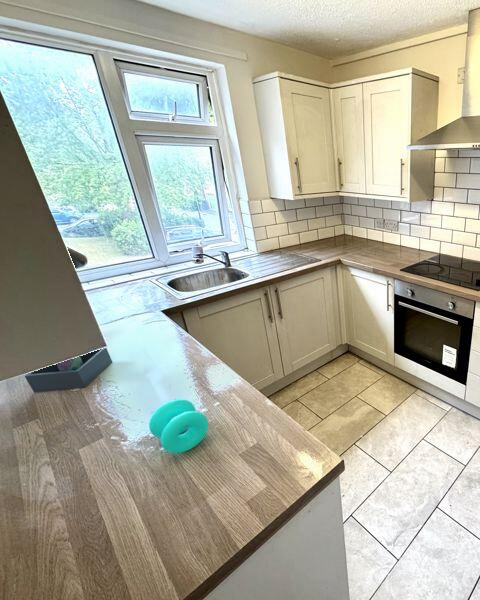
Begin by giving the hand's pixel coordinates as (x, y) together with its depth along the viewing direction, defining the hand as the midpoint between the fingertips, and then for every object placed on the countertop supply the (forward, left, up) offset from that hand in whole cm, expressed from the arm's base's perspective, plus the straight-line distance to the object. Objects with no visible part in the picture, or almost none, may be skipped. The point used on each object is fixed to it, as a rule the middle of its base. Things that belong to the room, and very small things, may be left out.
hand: (30, 291), depth 91 cm
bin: (-1, +2, -30) cm, 30 cm away
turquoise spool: (+44, -32, -30) cm, 63 cm away
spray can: (-1, +2, -29) cm, 29 cm away
